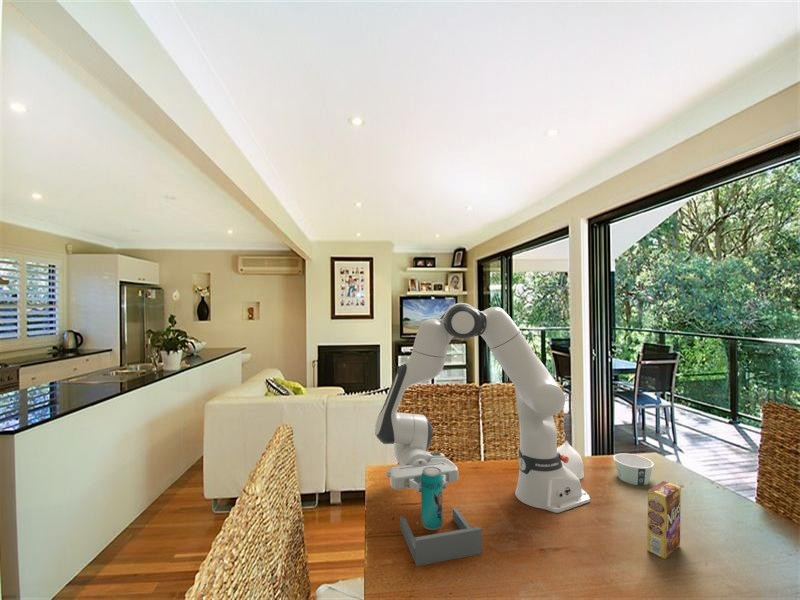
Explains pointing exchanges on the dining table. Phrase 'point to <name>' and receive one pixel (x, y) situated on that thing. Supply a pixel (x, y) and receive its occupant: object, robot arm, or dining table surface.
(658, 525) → the candy box
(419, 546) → the lane rack
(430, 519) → the beverage can
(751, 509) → the dining table surface
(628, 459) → the food container
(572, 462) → the teardrop
